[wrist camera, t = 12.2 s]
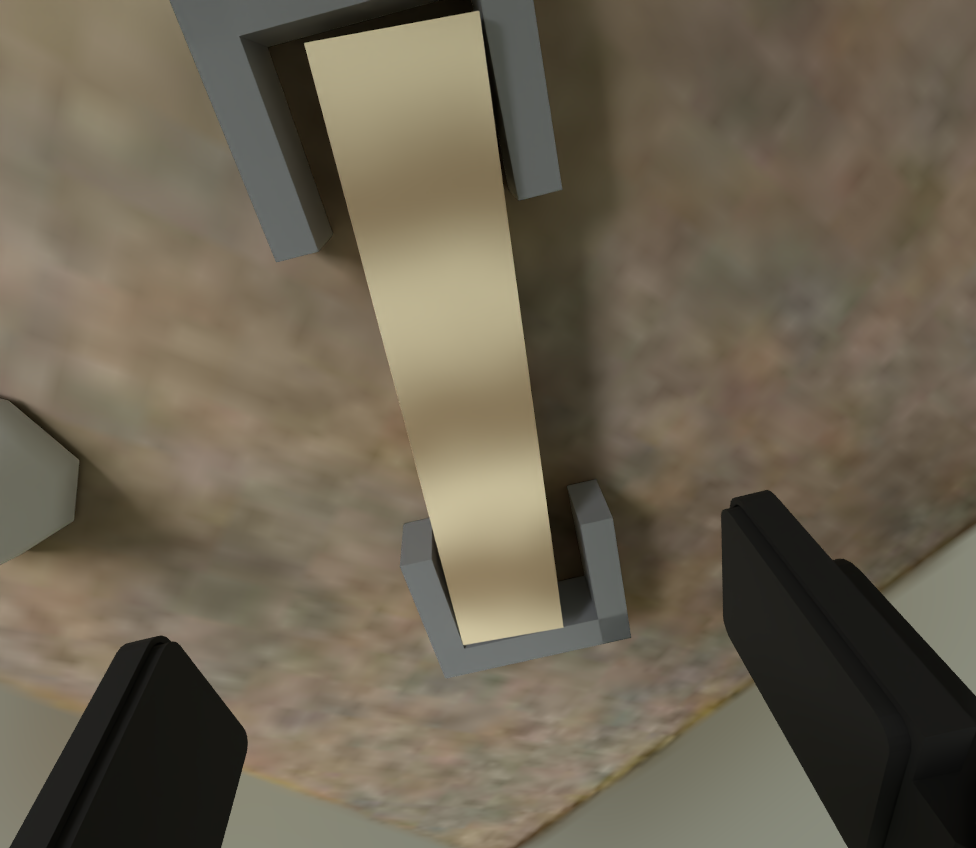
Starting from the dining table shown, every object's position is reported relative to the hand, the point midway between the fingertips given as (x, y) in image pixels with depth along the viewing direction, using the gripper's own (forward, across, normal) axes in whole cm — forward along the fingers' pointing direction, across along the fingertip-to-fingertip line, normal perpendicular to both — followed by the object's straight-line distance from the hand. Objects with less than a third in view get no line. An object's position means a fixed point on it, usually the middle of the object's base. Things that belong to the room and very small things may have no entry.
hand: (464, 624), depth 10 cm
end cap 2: (+12, 0, +10) cm, 15 cm away
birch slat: (+12, 0, +1) cm, 12 cm away
